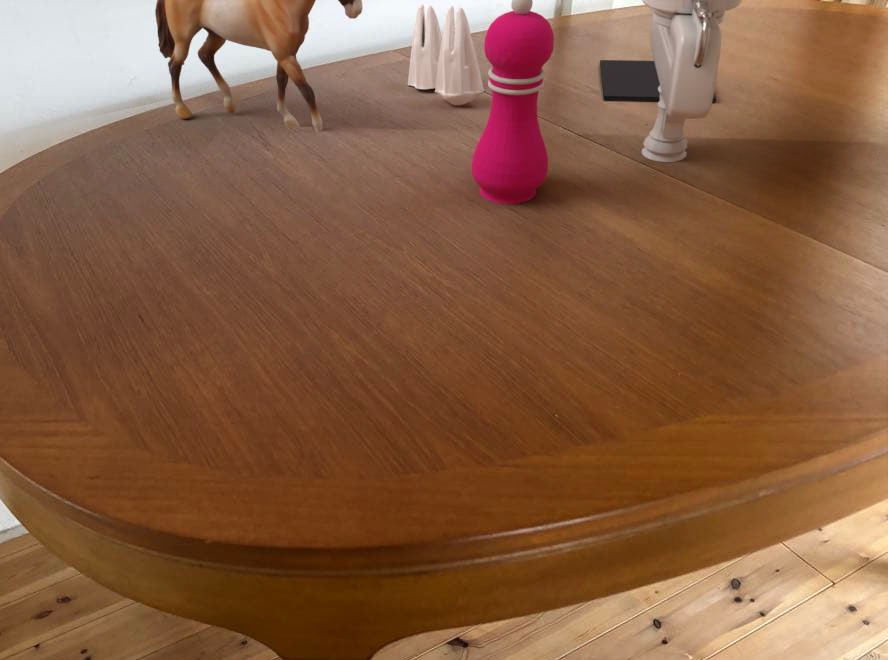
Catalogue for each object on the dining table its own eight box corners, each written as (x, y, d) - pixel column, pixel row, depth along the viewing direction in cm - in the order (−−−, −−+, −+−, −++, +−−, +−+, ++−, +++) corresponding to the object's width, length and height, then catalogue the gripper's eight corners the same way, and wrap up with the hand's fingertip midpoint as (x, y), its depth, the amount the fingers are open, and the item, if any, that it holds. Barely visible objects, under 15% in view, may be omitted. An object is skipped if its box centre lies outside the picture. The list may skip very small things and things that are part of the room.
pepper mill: (454, 208, 88) (461, -6, 75) (503, 185, 91) (519, -24, 79) (508, 233, 84) (526, 10, 71) (558, 208, 87) (584, -9, 74)
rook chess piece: (666, 170, 89) (680, 91, 84) (631, 157, 92) (643, 79, 87) (695, 157, 91) (710, 79, 86) (659, 144, 94) (672, 68, 89)
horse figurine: (377, 136, 103) (372, -60, 90) (339, 161, 98) (328, -42, 85) (177, 92, 117) (148, -83, 104) (136, 112, 112) (100, -69, 99)
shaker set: (485, 106, 108) (490, 11, 101) (456, 114, 107) (459, 17, 100) (432, 78, 116) (434, -12, 109) (405, 85, 115) (405, -6, 108)
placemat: (701, 65, 116) (702, 61, 115) (715, 103, 106) (716, 98, 105) (599, 64, 118) (600, 59, 117) (603, 100, 108) (604, 95, 108)
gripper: (749, 14, 72) (715, 173, 81) (715, -47, 88) (689, 91, 97) (669, 15, 73) (643, 171, 82) (649, -46, 89) (629, 91, 98)
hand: (668, 128), depth 90 cm, fingers closed on rook chess piece, 3 cm apart
